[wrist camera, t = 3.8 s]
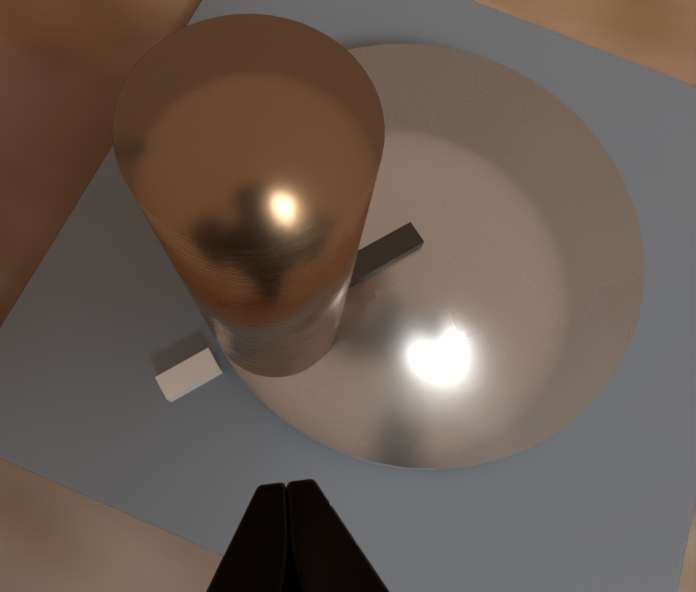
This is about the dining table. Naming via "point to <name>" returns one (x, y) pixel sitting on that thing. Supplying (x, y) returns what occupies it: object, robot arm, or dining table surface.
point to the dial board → (345, 472)
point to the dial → (385, 235)
